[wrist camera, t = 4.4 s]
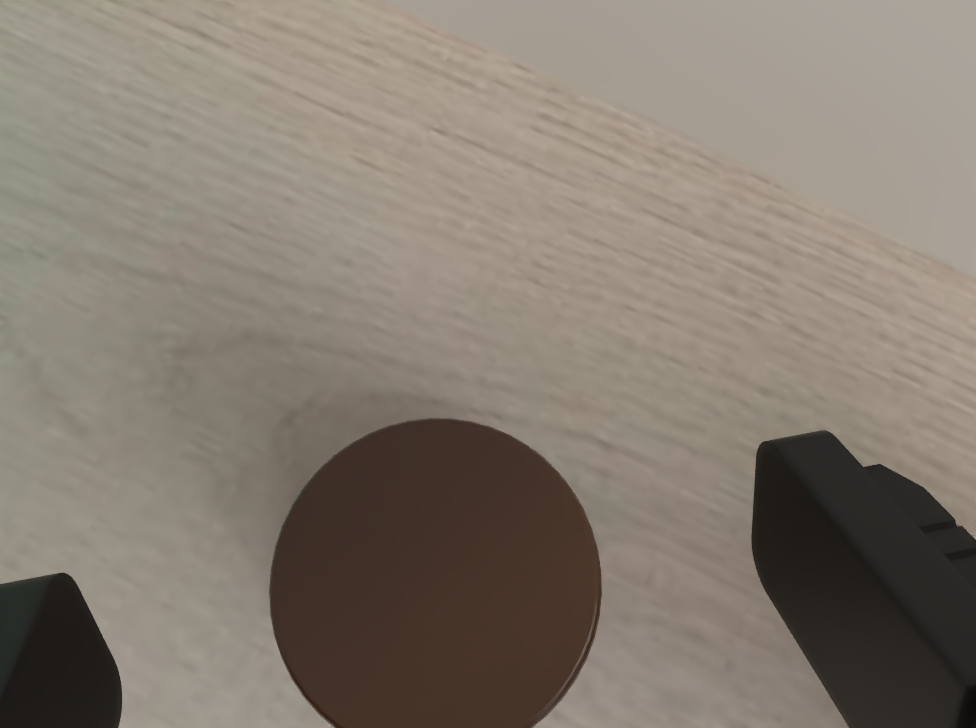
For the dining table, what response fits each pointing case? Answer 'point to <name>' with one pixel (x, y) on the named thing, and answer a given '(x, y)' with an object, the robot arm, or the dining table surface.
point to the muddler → (435, 581)
